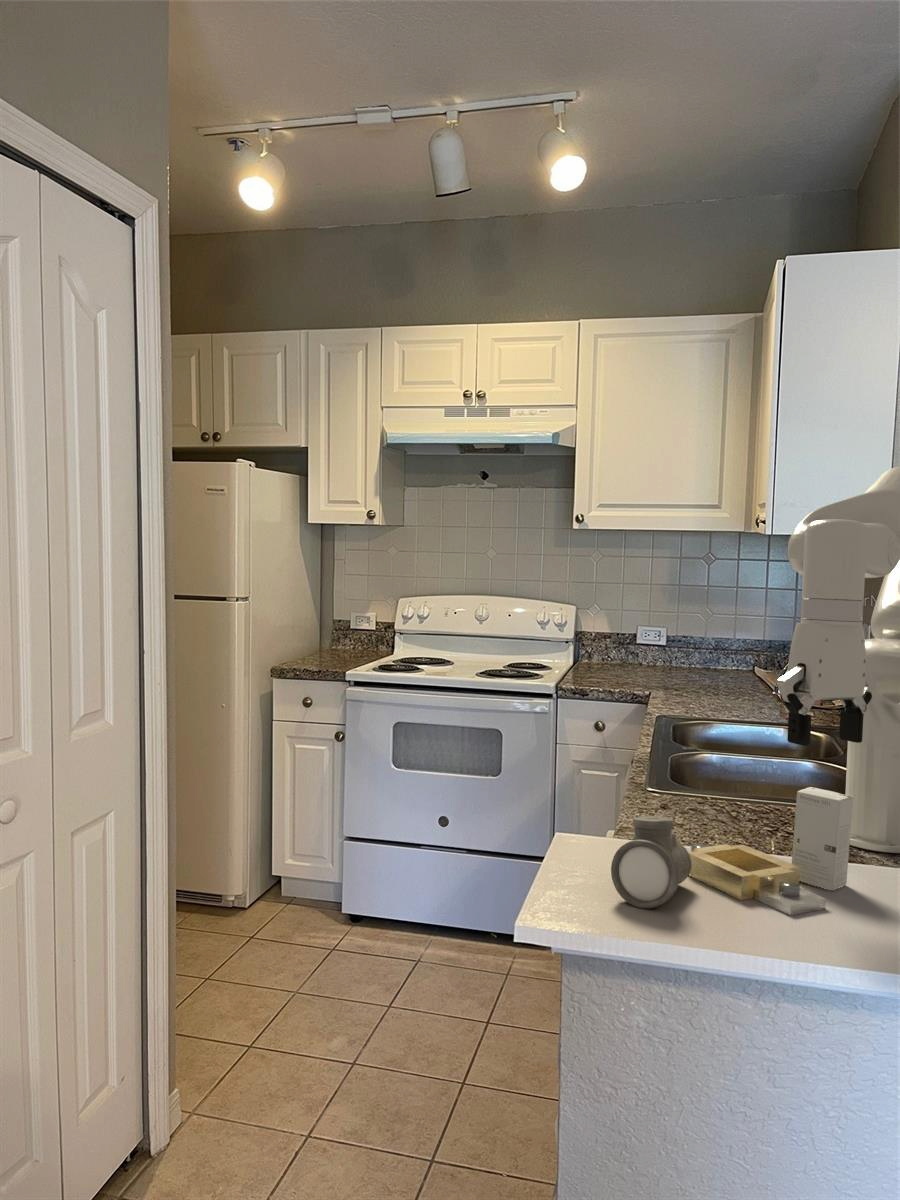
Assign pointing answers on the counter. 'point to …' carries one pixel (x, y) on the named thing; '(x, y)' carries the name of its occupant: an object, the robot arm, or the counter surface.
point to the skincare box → (822, 837)
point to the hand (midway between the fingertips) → (824, 742)
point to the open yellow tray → (753, 877)
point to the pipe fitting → (650, 863)
